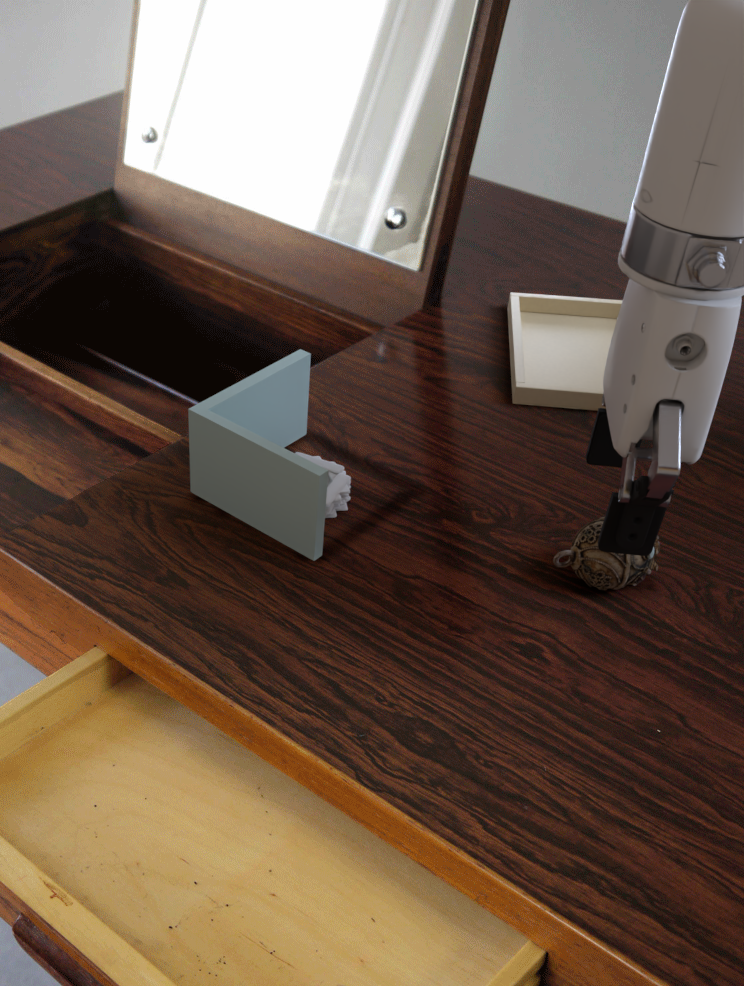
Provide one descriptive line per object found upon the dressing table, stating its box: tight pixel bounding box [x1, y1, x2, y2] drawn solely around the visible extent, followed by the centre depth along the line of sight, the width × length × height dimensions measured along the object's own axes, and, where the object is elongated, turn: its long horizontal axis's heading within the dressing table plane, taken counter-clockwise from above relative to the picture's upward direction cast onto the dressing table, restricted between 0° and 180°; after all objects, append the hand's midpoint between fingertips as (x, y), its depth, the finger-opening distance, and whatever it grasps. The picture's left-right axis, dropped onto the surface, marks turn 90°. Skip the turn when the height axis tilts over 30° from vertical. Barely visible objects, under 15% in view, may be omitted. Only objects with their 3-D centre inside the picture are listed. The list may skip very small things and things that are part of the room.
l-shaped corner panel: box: [187, 348, 352, 562], centre depth 82 cm, size 12×12×8 cm
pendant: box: [552, 516, 661, 591], centre depth 76 cm, size 5×8×5 cm, turn 104°
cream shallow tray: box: [507, 291, 623, 412], centre depth 99 cm, size 18×13×2 cm
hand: (615, 505), depth 73 cm, fingers open, 9 cm apart
